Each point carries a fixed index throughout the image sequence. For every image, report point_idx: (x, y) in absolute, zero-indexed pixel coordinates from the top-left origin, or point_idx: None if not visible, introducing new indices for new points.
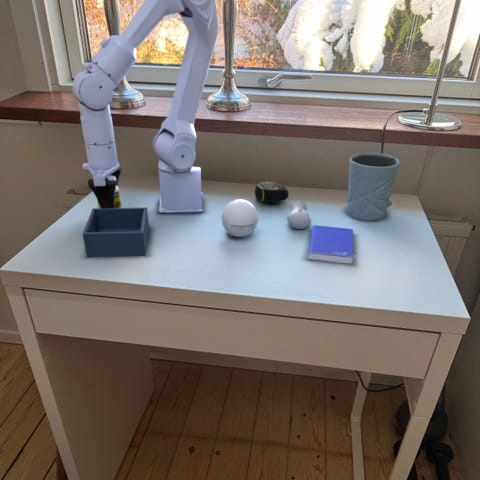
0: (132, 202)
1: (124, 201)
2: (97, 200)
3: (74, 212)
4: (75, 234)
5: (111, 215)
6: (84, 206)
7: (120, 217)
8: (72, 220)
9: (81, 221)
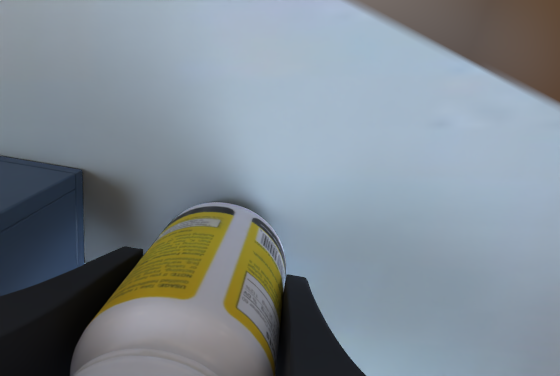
0: (435, 364)
1: (467, 330)
2: (170, 255)
3: (380, 34)
4: (33, 52)
5: None
6: (471, 102)
7: None
8: (243, 25)
9: (217, 85)
